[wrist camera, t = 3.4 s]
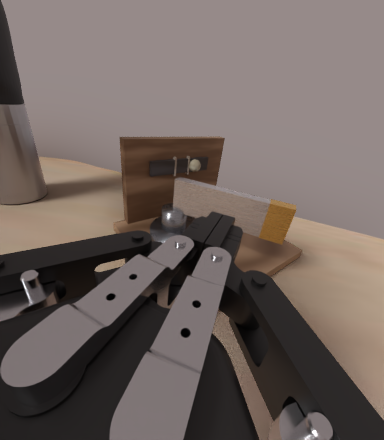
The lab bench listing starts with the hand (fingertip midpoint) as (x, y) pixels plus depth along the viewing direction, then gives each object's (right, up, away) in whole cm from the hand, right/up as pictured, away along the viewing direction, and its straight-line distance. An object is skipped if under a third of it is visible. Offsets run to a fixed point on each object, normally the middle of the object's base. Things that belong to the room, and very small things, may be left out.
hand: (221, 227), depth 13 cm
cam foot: (+1, -4, +20) cm, 20 cm away
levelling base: (+1, -4, +23) cm, 23 cm away
